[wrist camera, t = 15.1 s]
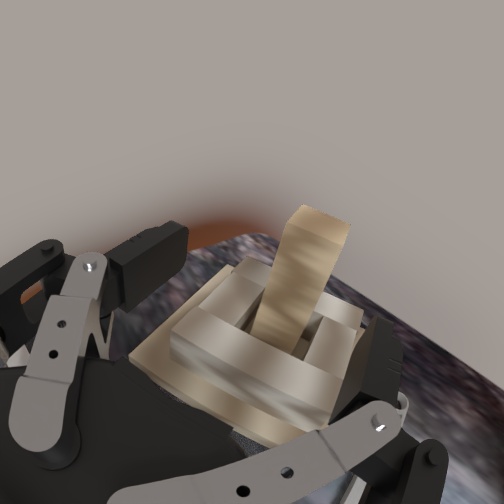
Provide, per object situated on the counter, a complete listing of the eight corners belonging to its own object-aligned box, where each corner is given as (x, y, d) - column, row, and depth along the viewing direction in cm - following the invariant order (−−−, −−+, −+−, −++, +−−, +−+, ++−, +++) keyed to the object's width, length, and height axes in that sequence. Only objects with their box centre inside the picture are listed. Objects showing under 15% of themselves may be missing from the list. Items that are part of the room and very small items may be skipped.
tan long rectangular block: (297, 340, 30) (351, 221, 23) (281, 371, 26) (343, 246, 19) (262, 323, 31) (304, 202, 23) (243, 352, 27) (286, 221, 20)
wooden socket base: (367, 341, 34) (389, 309, 31) (328, 472, 20) (360, 452, 17) (225, 273, 39) (233, 237, 36) (129, 364, 25) (124, 326, 22)
